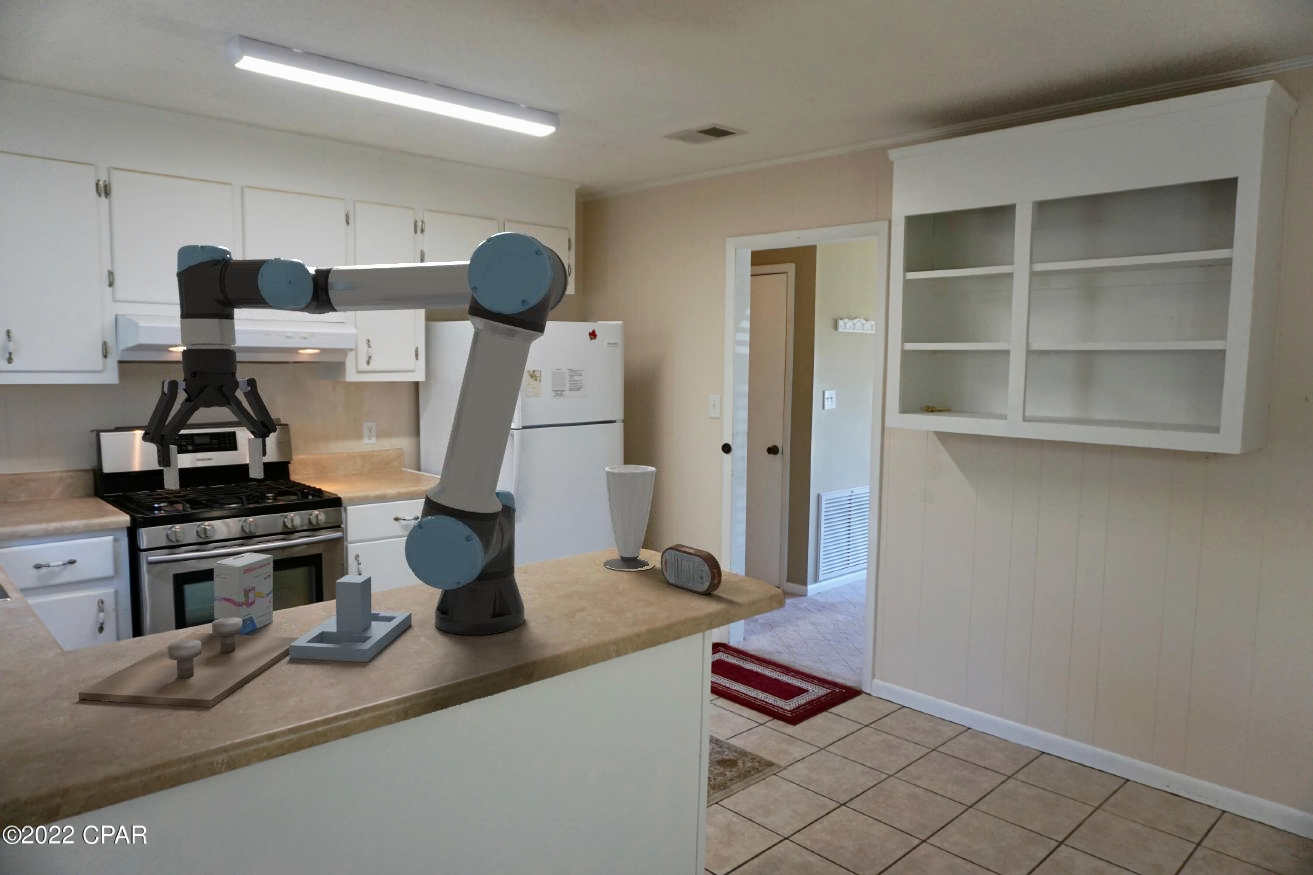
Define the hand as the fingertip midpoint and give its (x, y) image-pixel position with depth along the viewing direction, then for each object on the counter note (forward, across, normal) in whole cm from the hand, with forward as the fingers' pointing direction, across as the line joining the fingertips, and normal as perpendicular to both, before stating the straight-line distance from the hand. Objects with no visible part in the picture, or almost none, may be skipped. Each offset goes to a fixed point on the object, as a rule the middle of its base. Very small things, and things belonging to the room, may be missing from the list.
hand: (216, 483), depth 133 cm
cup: (+26, -77, +25) cm, 86 cm away
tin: (+27, -69, +46) cm, 87 cm away
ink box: (+25, -4, -1) cm, 25 cm away
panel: (+25, -11, +18) cm, 33 cm away
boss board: (+25, +10, +11) cm, 29 cm away
